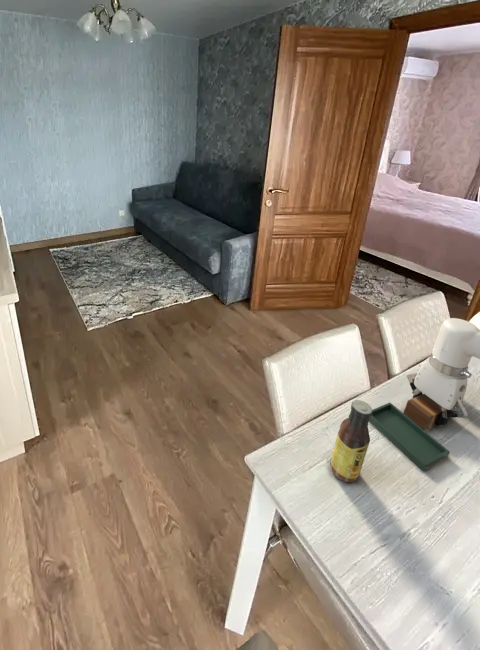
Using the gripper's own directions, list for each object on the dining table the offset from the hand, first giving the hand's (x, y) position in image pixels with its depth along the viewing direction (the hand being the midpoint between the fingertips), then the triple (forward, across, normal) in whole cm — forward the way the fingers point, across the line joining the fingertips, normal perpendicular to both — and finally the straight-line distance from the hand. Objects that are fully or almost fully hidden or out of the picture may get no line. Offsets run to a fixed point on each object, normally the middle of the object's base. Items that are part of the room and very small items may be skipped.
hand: (427, 414), depth 96 cm
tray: (+1, -2, +12) cm, 12 cm away
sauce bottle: (+1, -3, +34) cm, 34 cm away
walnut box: (+1, 0, 0) cm, 1 cm away
